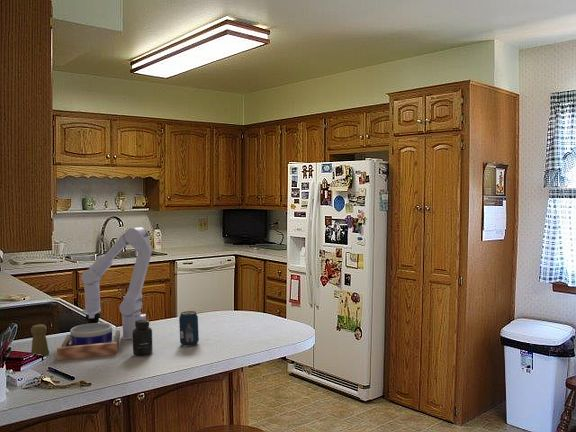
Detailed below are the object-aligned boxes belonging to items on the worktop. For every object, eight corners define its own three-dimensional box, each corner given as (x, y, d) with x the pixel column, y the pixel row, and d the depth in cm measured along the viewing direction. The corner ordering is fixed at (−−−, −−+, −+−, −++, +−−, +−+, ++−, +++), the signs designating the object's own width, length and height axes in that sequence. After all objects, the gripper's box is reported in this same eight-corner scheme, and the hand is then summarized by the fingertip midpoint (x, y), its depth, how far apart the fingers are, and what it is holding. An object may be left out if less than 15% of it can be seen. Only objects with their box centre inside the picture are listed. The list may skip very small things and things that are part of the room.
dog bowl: (118, 342, 212) (118, 327, 212) (78, 351, 203) (77, 334, 202) (104, 335, 224) (103, 320, 224) (65, 342, 214) (64, 327, 214)
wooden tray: (119, 334, 224) (119, 325, 224) (117, 354, 197) (116, 343, 197) (67, 339, 219) (67, 329, 219) (57, 360, 192) (56, 348, 192)
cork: (42, 357, 195) (40, 327, 195) (27, 357, 197) (25, 326, 196) (52, 352, 201) (51, 323, 201) (38, 352, 203) (36, 322, 202)
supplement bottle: (142, 358, 192) (141, 324, 191) (129, 355, 196) (127, 321, 195) (157, 352, 198) (155, 319, 197) (143, 350, 201) (142, 317, 201)
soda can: (191, 340, 213) (190, 309, 212) (202, 343, 208) (201, 312, 207) (176, 344, 208) (175, 313, 207) (187, 347, 203) (185, 315, 202)
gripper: (83, 296, 228) (85, 328, 228) (79, 303, 214) (81, 337, 214) (101, 295, 229) (103, 327, 230) (99, 301, 215) (100, 335, 216)
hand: (94, 332), depth 222 cm, fingers closed
